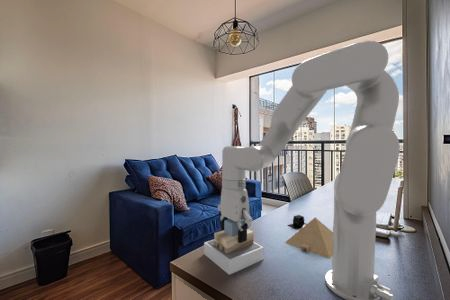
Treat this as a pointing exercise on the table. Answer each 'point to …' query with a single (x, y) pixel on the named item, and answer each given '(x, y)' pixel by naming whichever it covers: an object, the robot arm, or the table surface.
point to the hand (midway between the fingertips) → (233, 236)
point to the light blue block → (231, 227)
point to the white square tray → (234, 256)
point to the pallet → (231, 241)
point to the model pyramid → (314, 238)
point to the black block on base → (297, 222)
